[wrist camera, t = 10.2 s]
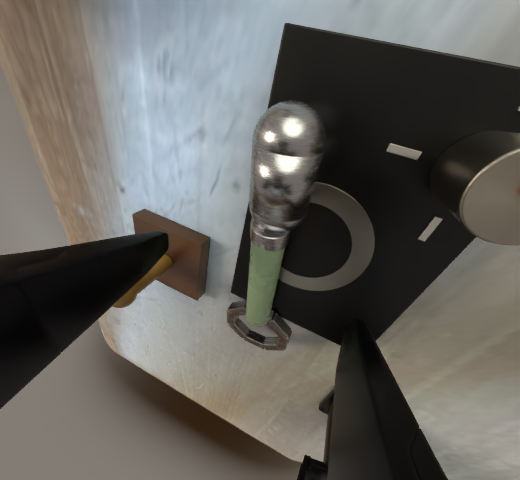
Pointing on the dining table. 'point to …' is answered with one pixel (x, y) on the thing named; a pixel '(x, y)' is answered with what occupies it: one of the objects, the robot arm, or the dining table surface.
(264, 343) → the green handled ring tool
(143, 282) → the peg stand
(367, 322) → the stove
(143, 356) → the dining table surface
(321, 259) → the burner
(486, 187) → the burner knob
